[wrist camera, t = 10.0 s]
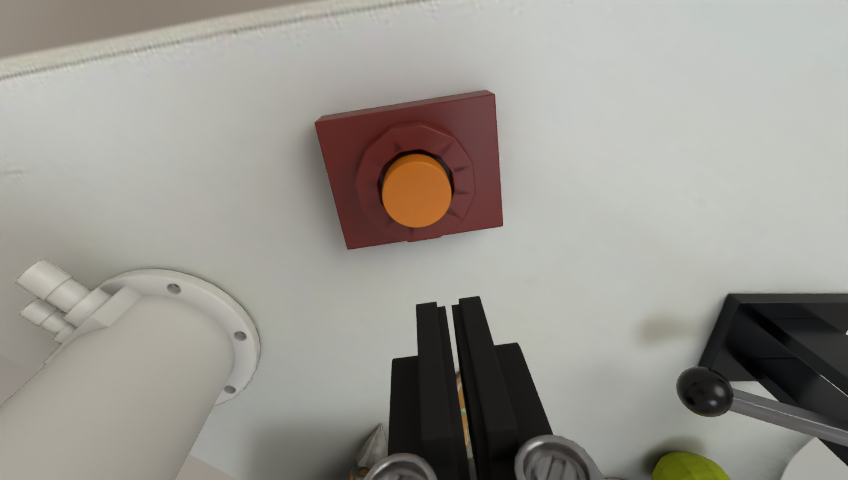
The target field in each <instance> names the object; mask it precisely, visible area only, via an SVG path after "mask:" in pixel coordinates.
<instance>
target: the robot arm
mask: <svg viewBox="0 0 848 480" xmlns="http://www.w3.org/2000/svg"><path fill="white" fill-rule="evenodd" d="M15 283H16V284H17V285H19V286H21V287H22V288H24V289H26V290H27V291H29V292H30V293H32V294H34V295H35V296H37V297H38V298H37V299H35V300H34V301H33V302H31V303H30V304H29V305H28V306H26V307H25V308H24V309H23V310H22V311H21V312H20V313H19V315H20V316H22V317H24V318H26V319H27V320H29V321H31V322H32V323H34V324H36V325H37V326H41V327H43V328H45V329H46V330H48V331H50V332H52V333H53V334H55V335H56V336H55V337H54V338H53V340H55V341H57V342H59V343H60V344H61V345H60V346H59V347H58V348H57V349H56V350H55V351H54V352H53V353H52V354H51V355H50V356H49V357H48V358H47V359H46V360H45V361H44V365H45V366H44V367H43V368H42V369H41V370H40V371H39V372H38V373H37V374H35V375H34V376H33V377H32V378H31V379H30V380H29V381H28V382H26V383H25V384H24V385H23V386H22V387H21V388H20V389H19V390H17V391H16V392H15V393H14V394H13V395H12V396H11V397H10V398H9V399H7V400H6V401H5V402H4V403H3V404H2V405H1V406H0V480H175V478H176V476H177V475H178V473H179V471H180V469H181V467H182V465H183V463H184V461H185V459H186V458H187V456H188V454H189V452H190V450H191V448H192V446H193V444H194V442H195V441H196V439H197V437H198V435H199V433H200V431H201V429H202V427H203V425H204V423H205V422H206V420H207V418H208V416H209V414H210V412H211V410H212V408H213V406H216V405H218V404H221V403H224V402H226V401H228V400H230V399H232V398H233V397H235V396H237V395H238V394H239V393H240V392H241V391H242V390H243V389H244V388H245V387H246V386H247V385H248V383H249V382H250V380H251V379H252V377H253V375H254V373H255V370H256V368H257V366H258V362H259V357H260V341H259V338H258V334H257V331H256V328H255V326H254V325H253V323H252V321H251V319H250V317H249V316H248V315H247V313H246V312H245V311H244V310H243V308H242V307H241V306H240V305H239V304H238V303H237V302H236V301H235V300H233V299H232V298H231V297H230V296H229V295H228V294H227V293H225V292H223V291H222V290H220V289H219V288H217V287H216V286H214V285H212V284H210V283H208V282H206V281H204V280H201V279H199V278H197V277H195V276H191V275H188V274H184V273H181V272H177V271H170V270H162V269H140V270H135V271H130V272H124V273H122V274H119V275H117V276H114V277H112V278H109V279H108V280H107V281H105V282H104V283H102V284H101V285H99V286H98V287H97V288H95V289H94V290H93V291H90V290H89V289H87V288H86V287H84V286H83V285H81V284H79V283H78V282H76V281H75V280H73V279H72V276H71V275H69V274H68V273H66V272H65V271H63V270H62V269H60V268H59V267H57V266H56V265H54V264H53V263H51V262H50V261H48V260H47V259H43V260H40V261H39V262H37V263H35V264H34V265H33V266H31V267H30V268H29V269H27V270H26V271H25V272H24V273H23V274H21V275H20V276H19V277H18V278H17V280H16V281H15ZM45 300H47V301H49V302H50V303H52V304H53V305H55V306H57V307H58V308H60V309H61V310H63V311H65V312H66V313H67V314H66V315H65V314H64V313H62V312H61V311H59V310H58V308H56V307H55V306H53V305H51V304H50V303H48V302H47V301H45ZM452 313H453V321H454V329H455V337H456V345H457V353H458V361H459V369H460V377H461V385H462V392H463V398H464V404H465V410H466V416H467V422H468V428H469V435H470V441H471V447H472V453H473V459H474V465H475V471H476V477H477V480H605V479H604V477H603V475H602V474H601V472H600V471H599V469H598V467H597V466H596V464H595V463H594V461H593V459H592V458H591V457H590V456H589V455H588V453H587V452H586V451H585V450H584V449H583V448H582V447H580V446H579V445H578V444H576V443H575V442H574V441H571V440H569V439H567V438H564V437H562V436H556V435H553V433H552V430H551V427H550V425H549V422H548V419H547V417H546V414H545V412H544V409H543V406H542V404H541V401H540V398H539V396H538V393H537V390H536V388H535V385H534V382H533V380H532V377H531V374H530V372H529V369H528V367H527V364H526V361H525V359H524V356H523V353H522V351H521V348H520V346H519V344H518V343H510V344H502V345H494V344H493V340H492V337H491V333H490V330H489V327H488V323H487V320H486V316H485V313H484V310H483V306H482V303H481V299H480V297H479V296H475V297H468V298H461V299H459V304H457V305H452ZM416 317H417V343H418V356H411V357H403V358H396V359H393V360H392V371H391V394H390V417H389V440H388V457H386V458H383V459H382V460H380V461H379V462H378V463H377V464H375V465H374V466H373V467H372V468H371V469H370V471H369V472H368V473H367V475H366V476H365V478H364V480H470V474H469V466H468V459H467V451H466V443H465V436H464V429H463V422H462V415H461V409H460V402H459V395H458V389H457V382H456V375H455V369H454V362H453V355H452V349H451V342H450V335H449V329H448V322H447V315H446V309H445V306H442V307H437V303H436V302H431V303H423V304H416Z"/></svg>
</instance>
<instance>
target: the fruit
mask: <svg viewBox="0 0 848 480" xmlns="http://www.w3.org/2000/svg"><path fill="white" fill-rule="evenodd" d="M652 480H730V478H729V477H728V476H727V474H726V473H725V472H724V471H723V469H722V468H721V467H720V466H718V465H717V464H716V463H715V462H713V461H711V460H709V459H707V458H705V457H703V456H700V455H697V454H693V453H688V452H670V453H668V454H666V455H665V456H663V457H661V458H660V460H659V461H658V463H657V465H656V467H655V469H654V471H653V473H652Z"/></svg>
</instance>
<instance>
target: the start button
mask: <svg viewBox="0 0 848 480" xmlns="http://www.w3.org/2000/svg"><path fill="white" fill-rule="evenodd" d="M451 195H452V194H451V186H450V183H449V180H448V177H447V175H446V172H445V170H444V168H443V167H442V166H441V165H440V163H438V162H437V161H436V160H435V159H433V158H431V157H429V156H426V155H422V154H410V155H406V156H403V157H401V158H399V159H398V160H396V161H395V162H394V163H393V164H392V165H391V166H390V167H389V169H388V170H387V172H386V174H385V178H384V183H383V190H382V200H383V204H384V207H385V209H386V211H387V212H388V214H389V215H390V216H391V217H392V218H393V219H394V220H395V221H397V222H398V223H400V224H402V225H404V226H408V227H414V228H419V227H425V226H429V225H431V224H433V223H435V222H437V221H438V220H439V219H440V218H442V217H443V215H444V214H445V213H446V211H447V210H448V208H449V205H450V202H451Z"/></svg>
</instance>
